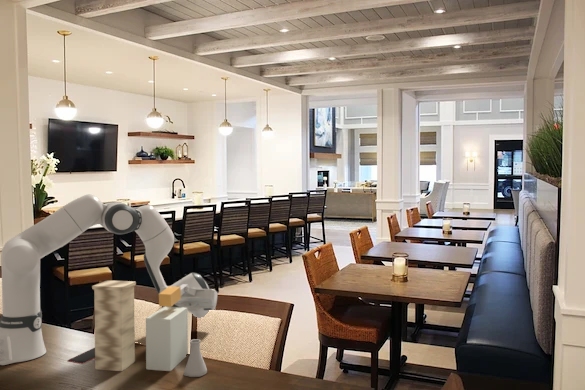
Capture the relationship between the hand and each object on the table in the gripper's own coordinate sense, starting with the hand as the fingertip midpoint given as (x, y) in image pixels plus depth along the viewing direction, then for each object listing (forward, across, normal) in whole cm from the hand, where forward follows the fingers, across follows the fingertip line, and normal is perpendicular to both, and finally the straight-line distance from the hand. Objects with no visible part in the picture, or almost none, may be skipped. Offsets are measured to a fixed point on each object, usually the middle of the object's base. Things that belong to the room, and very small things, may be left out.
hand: (181, 288), depth 173 cm
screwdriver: (+3, 0, +4) cm, 5 cm away
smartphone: (-2, -28, +24) cm, 37 cm away
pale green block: (-1, 0, +24) cm, 24 cm away
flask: (+5, +12, +28) cm, 31 cm away
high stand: (+4, -15, +27) cm, 31 cm away
